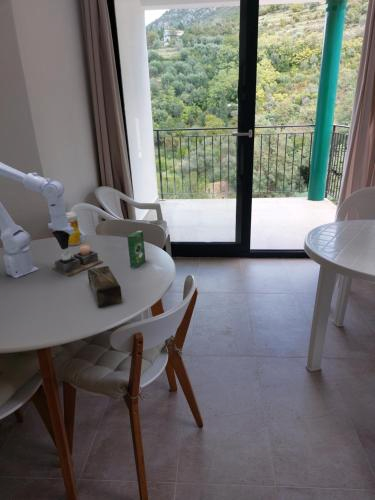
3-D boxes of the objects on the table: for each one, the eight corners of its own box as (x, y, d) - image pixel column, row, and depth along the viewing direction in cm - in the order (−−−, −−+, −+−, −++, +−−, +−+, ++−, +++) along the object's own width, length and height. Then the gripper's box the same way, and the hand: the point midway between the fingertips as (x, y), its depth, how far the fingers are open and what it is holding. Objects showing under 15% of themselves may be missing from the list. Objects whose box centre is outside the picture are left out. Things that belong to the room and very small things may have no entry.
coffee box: (140, 259, 140) (137, 229, 136) (146, 260, 139) (143, 230, 135) (130, 267, 134) (126, 236, 129) (136, 268, 133) (132, 236, 128)
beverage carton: (110, 279, 125) (108, 263, 123) (123, 303, 109) (121, 284, 106) (88, 284, 122) (86, 267, 120) (98, 309, 106) (95, 290, 103)
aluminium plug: (65, 264, 130) (64, 256, 129) (60, 262, 133) (58, 254, 131) (74, 261, 133) (73, 252, 132) (68, 258, 136) (67, 250, 134)
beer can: (78, 245, 160) (73, 215, 154) (66, 246, 160) (60, 215, 154) (82, 241, 165) (77, 211, 160) (70, 241, 165) (65, 212, 160)
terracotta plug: (84, 257, 136) (82, 249, 135) (78, 255, 139) (77, 247, 137) (92, 254, 139) (91, 246, 138) (86, 252, 142) (85, 244, 140)
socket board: (69, 277, 128) (67, 267, 127) (52, 269, 135) (50, 260, 134) (103, 262, 139) (101, 253, 138) (85, 256, 147) (84, 247, 145)
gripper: (78, 214, 124) (84, 248, 129) (57, 209, 133) (63, 242, 138) (61, 219, 119) (68, 254, 124) (40, 213, 128) (47, 247, 133)
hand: (64, 248), depth 131 cm, fingers closed
